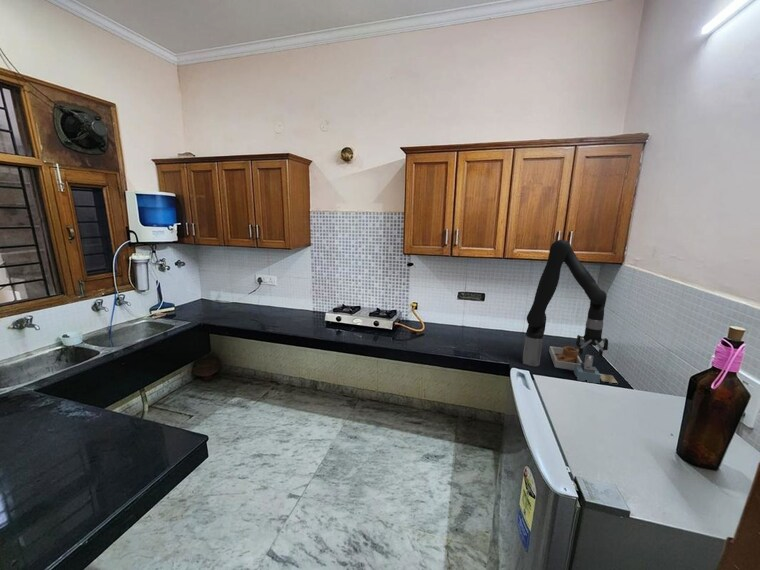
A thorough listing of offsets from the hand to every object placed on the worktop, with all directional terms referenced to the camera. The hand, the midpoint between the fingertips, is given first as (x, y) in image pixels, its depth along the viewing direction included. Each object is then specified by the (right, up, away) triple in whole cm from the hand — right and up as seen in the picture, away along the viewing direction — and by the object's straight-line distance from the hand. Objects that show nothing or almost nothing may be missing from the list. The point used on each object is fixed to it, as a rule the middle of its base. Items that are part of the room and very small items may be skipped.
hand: (590, 355), depth 170 cm
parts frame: (0, -9, +24) cm, 25 cm away
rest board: (+10, -13, +1) cm, 17 cm away
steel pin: (0, -13, +3) cm, 13 cm away
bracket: (0, -9, +24) cm, 25 cm away
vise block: (0, -13, +3) cm, 13 cm away
